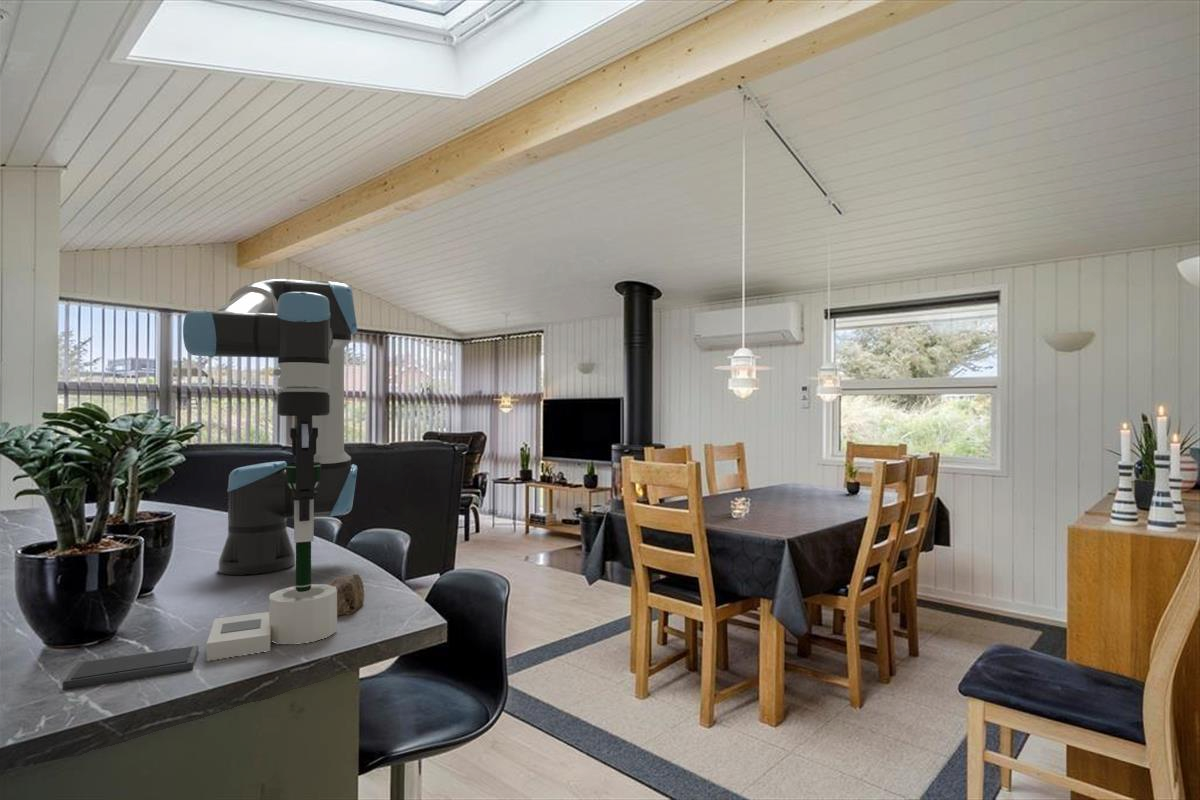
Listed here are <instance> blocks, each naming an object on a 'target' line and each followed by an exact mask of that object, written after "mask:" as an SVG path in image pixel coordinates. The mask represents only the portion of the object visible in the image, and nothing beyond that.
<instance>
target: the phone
mask: <svg viewBox="0 0 1200 800" xmlns="http://www.w3.org/2000/svg"><path fill="white" fill-rule="evenodd" d="M199 650H200V649H199V644H198V645H193V646H192V645H191V646H186V647H179V648H172V649H165V650H155V651H149V652H143V653H136V654H129V655H122V656H114V657H107V658H101V659H94V660H88V661H87V660H86V661H79V662H77V664H76V665H75V666H74V667H73V669H72V670H71V671H70V673H69V674H68V675H67V676H66V677H65V679H64V680H63V681H62V691H65V690H71V689H76V688H77V689H78V688H84V687H89V686H97V685H102V684H109V683H116V682H121V681H129V680H136V679H141V678H148V677H153V676H154V677H155V676H160V675H167V674H168V675H169V674H172V673H173V674H174V673H180V672H187V671H193V670H194V667H195V663H196V660H197V658H198V655H199V652H200V651H199Z"/></svg>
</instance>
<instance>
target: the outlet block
mask: <svg viewBox="0 0 1200 800" xmlns="http://www.w3.org/2000/svg"><path fill="white" fill-rule="evenodd" d="M268 600H269V602H268V603H269V611H265V612H258V613H250V614H241V615H234V616H226V617H219V618H218V617H217V618H214V619H213V623H212V626H211V629H210V632H209V634H208V638H207V641H206V662H211V661H210V660H213V661H218V660H217V659H219V660H224V659H223V658H226V659H230V658H229V657H232V658H235V657H234V656H239V657H241V656H240V655H244V654H251V653H257V652H264V651H270V652H271V647H270V646H271V645H272V642H271V641H274V642H276V643H278V644H284V643H285V644H297V643H306V642H313V643H315V642H314V641H317V640H320V639H323V640H325V639H324V638H326V639H328V638H327V637H329V636H330V635H332V634H333V633H334V634H336V633H337V632H338V616H337V589H336V587H335V586H331V585H329V584H324V583H322V584H321V583H318V584H317V583H311V588H310V590H308V591H305V592H298V591H297V590H296V585H293V586H290V587H285V588H282V589H278V590H276V591H274V592H272V593H269V599H268ZM336 631H337V632H336ZM335 632H336V633H335ZM334 634H333V635H334ZM333 635H332V636H333ZM330 637H331V636H330ZM330 637H329V638H330ZM320 641H321V640H320ZM317 642H318V641H317ZM278 644H277V645H278Z"/></svg>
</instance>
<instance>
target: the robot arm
mask: <svg viewBox="0 0 1200 800" xmlns="http://www.w3.org/2000/svg"><path fill="white" fill-rule="evenodd" d="M229 298H230V299H229V301H228V302H227V303H226V304H225V305H223V306H221V307H220V308H218V309H217V310H208V309H204V310H190V311H188V312H187V313H186V314H185V316H184V319H183V324H182V335H183V336H182V337H183V344H184V347H185V351H187V353H188V354H189V355H191V356H197V357H208V358H214V357H219V358H220V357H223V358H224V357H226V358H227V357H229V358H234V357H235V358H267V359H268V358H269V359H270V358H271V359H277V363H278V365H277V367H278V368H279V369H277V368H275V369H274V370H273V375H274V376H278V378H277V387H278V388H279V389H280V390H281V389H282V392H278V394H277V414H278V415H279V416H281V417H295V427H289V431H290V432H289V437H290V440H291V455H293V456H294V463H295V465H296V492H295V494H294V493H293V491H292V490H291V489H290V488H289V486H288V484H287V481H286V467H287V466H286V465H287V464H288V463H287V461H286V460H280V461H270V462H263V463H256V464H250V465H245V466H241V467H237V468H234V469H232V471H230V473H229V475H228V484H227V485H228V487H227V491H226V492H227V501H228V502H227V520H228V521H227V525H228V527H227V528H228V529H227V537H226V540H225V543H224V545H223V549H222V552H221V554H220V557H219V560H218V572H219V573H220V574H224V575H230V576H244V575H245V574H251V575H260V574H259V573H261V574H267V573H273V572H278V571H280V570H281V571H282V570H286V569H288V568H290V567H292V566H294V565H296V552H295V550H294V547H293V545H292V542H291V540H290V539H291V538H290V537H289V533H288V530H287V520H288V519H293V524H294V525H293V539H294V540H293V541H294V543H295V544H296V542H308V541H311V542H314V538H315V537H314V532H315V531H314V527H315V526H314V525H315V524H314V523H315V520H314V519H315V518H317V517H318V518H319V517H320V518H321V517H328V518H331V517H334V516H335V517H336V516H345V515H347V514H349V513H350V512H351V511H352V509H353V505H354V504H353V503H354V497H355V490H356V483H357V475H358V474H357V473H358V466H357V465H356V464H354V463H353V464H352V456H351V455H349V454H348V453H347V452H346V451H345V348H346V347H347V346H348V345H349V344H350V343H351V342H352V335H356V334H358V326H357V320H356V319H357V318H356V311H355V305H354V297H353V290H352V288H351V287H350V286H349V285H348V284H346V283H344V282H343V283H342V282H335V281H323V280H318V281H317V280H301V279H300V280H299V279H287V278H286V279H285V278H274V279H267V280H262V281H258V282H254V283H250V284H246V285H244V286H243V287H241V288H238V289H237V290H236V291H234V293H232V295H231V296H230V297H229ZM314 462H319V463H321V465H320V466H321V479H320V482H319V484H318V486H317V488H316V489H315V490H314ZM245 576H246V575H245Z"/></svg>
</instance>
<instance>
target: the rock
mask: <svg viewBox="0 0 1200 800" xmlns="http://www.w3.org/2000/svg"><path fill="white" fill-rule="evenodd" d="M328 585H331V586H335V587H336V589H337V617H338V616H339V615H340V616H344V615H343V614H345V615H347V614H346V613H352V614H353V613H354V612H355V611H356V609H357V610H358V609H359V608H360V607H361V605H363V603H364V600H365V590H364V589H365V585H364V582H363V580H362V578H361V577H360V574H358V573H352V574H349V575H345V576H340V577H339V578H337V579H334V580H332V581H331V582H329V584H328Z"/></svg>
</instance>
